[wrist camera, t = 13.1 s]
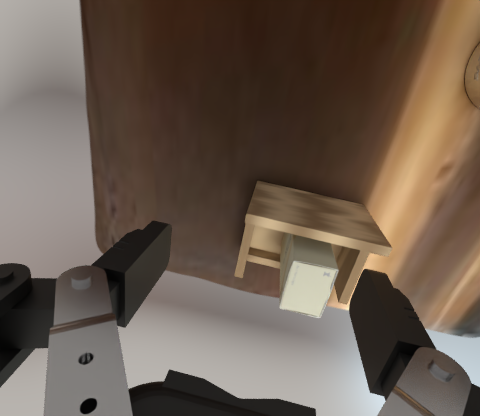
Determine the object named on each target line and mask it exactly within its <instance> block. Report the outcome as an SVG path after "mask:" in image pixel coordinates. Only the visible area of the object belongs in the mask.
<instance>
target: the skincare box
mask: <svg viewBox="0 0 480 416" xmlns="http://www.w3.org/2000/svg"><path fill="white" fill-rule="evenodd" d="M337 274H338V267H337V263H336V260H335V256H334V253H333V249H332V246H331V243H328V242H324V241H319V240H315V239H311V238H307V237H303V236H299V235H294V234H290V233H286V232H284V236H283V240H282V243H281V254H280V308H281V309H284V310H288V311H292V312H295V313H300V314H304V315H308V316H312V317H316V318H320V317H321V315H322V313H323V311H324V308H325V306H326V303H327V301H328V298H329V296H330V293H331V290H332V288H333V285H334V282H335V279H336V276H337Z"/></svg>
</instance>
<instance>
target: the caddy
mask: <svg viewBox="0 0 480 416" xmlns="http://www.w3.org/2000/svg"><path fill="white" fill-rule="evenodd" d="M245 223H246V226H245V230H244V235H243V239H242V244H241V248H240V253H239V257H238V262H237V266H236V271H235V275H234V276H236V277H240V278H242V277H243V273H244V269H245V264H246V260H247V261H251V262H255V263H259V264H263V265H267V266H271V267H275V268H279V269H280V254H281V243H282V240H283V236H284V232H286V233H290V234H294V235H299V236H303V237H307V238H311V239H315V240H319V241H324V242H328V243H331V246H332V249H333V253H334V256H335V260H336V263H337V267H338V274H337V276H336V279H335V282H334V285H335V289H336V294H337V298H338V302H339V303H343V304H347V303H348V301H349V298H350V296H351V294H352V292H353V289H354V287H355V285H356V282H357V280H358V278H359V276H360V273H361V271H362V269H363V266H364V264H365V262H366V260H367V257H368V255H369V253H374V254H378V255H382V256H386V257H388V256H389V254H390V252H391V250H392V247H391V245H390V244H389V242H388V241H387V239H386V238H385V236H384V235H383V233H382V232H381V230H380V228H379V227H378V225H377V224H376V222H375V221H374V219H373V218H372V216H371V215H370V213H369V212H368V210H367V209H366V207H365V206H364V205H363V204H358V203H354V202H349V201H345V200H341V199H336V198H332V197H328V196H323V195H319V194H314V193H310V192H306V191H301V190H297V189H293V188H288V187H284V186H280V185H275V184H271V183H266V182H262V181H257V184H256V187H255V190H254V193H253V196H252V199H251V202H250V205H249V208H248V211H247V214H246V218H245Z"/></svg>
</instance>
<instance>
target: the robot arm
mask: <svg viewBox="0 0 480 416" xmlns="http://www.w3.org/2000/svg"><path fill="white" fill-rule="evenodd" d="M465 87H466V91H467V94H468V97H469V98H470V100H471V101H472V103H473V104H474V105H475V106H477V107H478V108H479V109H480V43H479V45H478V46H477V47H476V49H475V50H474V52H473V54H472V56H471V57H470V60H469V62H468V65H467V68H466V74H465ZM171 232H172V227H171V225H170V224H166V223H162V222H158V221H152V222H151V223H150V224H148V225H147V226H146V227H145V228H144V229H143V230H140V229H137V230H134V231H132V232H130V233H127V234H126V235H125V236H124V237H123V238H121V239H120V240H119V242H117V243H116V244H115V245H114V246H113V247H111V248H110V249H109V250H108V251H107V252H106V253H105V254H103V255H102V256H101V257H100V258H99V259H98V260H97V261H95V262H94V263H93V264H92V265H91V266H87V265H85V266H78V267H74V268H71V269H69V270H67V271H65V272H64V273H62V274H61V275H60V276H59V277H58V278H56V279H50V278H47V279H45V278H31V274H30V269H29V268H28V267H27V266H25V265H22V264H15V263H8V264H1V265H0V387H1V386H2V385H3V384H4V383H5V382H6V381H7V379H8V378H9V377H10V376H11V375H12V374H13V373H14V371H15V370H16V369H17V368H18V367H19V366H20V365H21V364H22V363H23V362H24V360H25V359H26V358H27V357H28V356H29V355H30V354H31V353H32V352H33V350H34V349H35V348H48V360H47V375H46V389H45V404H44V416H316V410H315V409H314V408H310V407H306V406H303V405H299V404H295V403H292V402H288V401H284V400H281V399H240V398H237V397H235V396H233V395H231V394H230V393H228V392H226V391H224V390H223V389H221V388H219V387H217V386H215V385H214V384H212V383H210V382H209V381H207V380H205V379H203V378H199V377H195V376H192V375H188V374H184V373H180V372H177V371H173V370H169V371H168V374H167V376H166V378H165V381H164V382H151V383H146V384H142V385H138V386H136V387H133V388H130V389H128V385H127V380H126V374H125V368H124V362H123V357H122V351H121V345H120V339H119V334H118V327H117V326H121V327H126V326H127V324H128V323H129V322H130V320H131V318H132V317H133V316H134V314H135V313H136V311H137V310H138V308H139V307H140V306H141V304H142V303H143V301H144V300H145V298H146V297H147V295H148V294H149V293H150V291H151V290H152V288H153V287H154V285H155V284H156V282H157V281H158V280H159V278H160V277H161V275H162V274H163V272H164V271H165V269H166V267H167V265H168V262H169V257H170V245H171ZM349 312H350V318H351V322H352V325H353V329H354V333H355V337H356V340H357V344H358V348H359V352H360V356H361V360H362V364H363V367H364V371H365V375H366V379H367V383H368V387H369V390H370V393H374V394H377V395H381V396H384V397H385V400H386V402H385V404H384V405H383V407H382V409H381V410H380V412H379V414H378V416H480V387H478V386H476V385H474V384H472V383H471V381H470V379H469V376H468V375H467V373H466V372H465V370H464V369H463V368H462V367H461V366H460V365H459V364H458V363H457V362H455V360H453V359H452V358H451V357H449V356H448V355H446V354H444V353H443V352H440V351H438V350H436V348H435V346H434V344H433V343H432V341H431V339H430V337H429V335H428V334H427V332H426V330H425V328H424V326H423V325H422V323H421V321H419V317H418V316H417V314H416V312H414V308H413V307H412V305H411V303H410V301H409V299H408V298H407V297H406V296H405V295H403V294H402V293H401V292H400V291H399V290H398V289H396V288H393V286H392V284H391V282H390V280H389V278H388V276H387V274H386V273H382V272H378V271H373V270H369V269H364V270H363V272H362V274H361V276H360V278H359V281H358V283H357V286H356V288H355V291H354V293H353V295H352V298H351V301H350V307H349Z"/></svg>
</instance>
